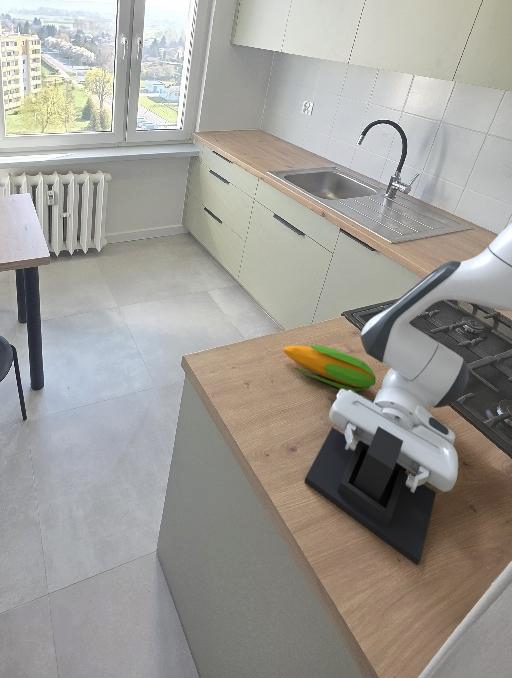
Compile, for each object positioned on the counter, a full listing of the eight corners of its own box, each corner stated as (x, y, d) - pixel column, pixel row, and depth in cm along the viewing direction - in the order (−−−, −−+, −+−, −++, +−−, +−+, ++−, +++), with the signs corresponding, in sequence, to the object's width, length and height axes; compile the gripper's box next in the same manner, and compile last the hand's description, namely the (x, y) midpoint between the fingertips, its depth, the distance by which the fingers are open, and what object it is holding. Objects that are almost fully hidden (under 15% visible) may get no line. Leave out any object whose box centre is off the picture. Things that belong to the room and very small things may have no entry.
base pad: (433, 497, 75) (440, 483, 73) (417, 565, 65) (425, 551, 64) (330, 431, 86) (335, 418, 84) (303, 482, 76) (308, 468, 75)
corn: (381, 379, 89) (284, 345, 97) (371, 406, 92) (278, 371, 100) (379, 357, 95) (288, 327, 103) (369, 383, 98) (281, 352, 106)
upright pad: (386, 477, 76) (403, 440, 72) (376, 507, 72) (393, 470, 67) (363, 462, 79) (378, 425, 75) (351, 490, 74) (366, 453, 70)
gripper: (345, 374, 86) (321, 416, 77) (466, 439, 74) (455, 500, 65) (338, 396, 89) (314, 439, 80) (454, 463, 77) (441, 524, 67)
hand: (378, 467), depth 72 cm, fingers open, 8 cm apart
